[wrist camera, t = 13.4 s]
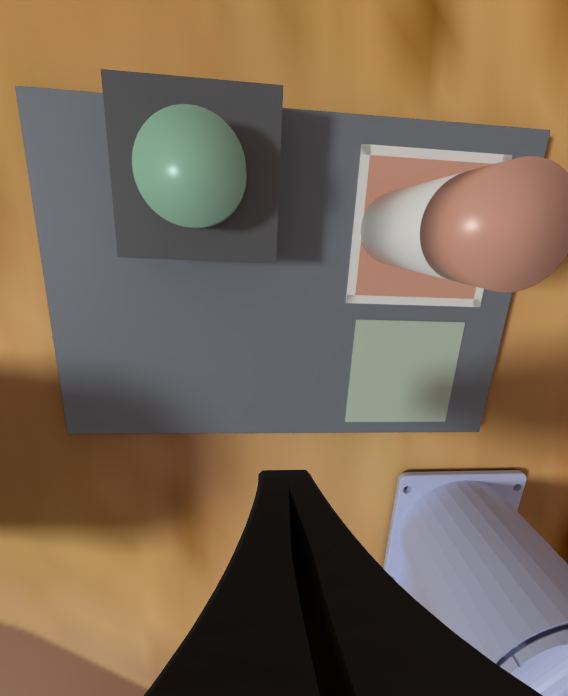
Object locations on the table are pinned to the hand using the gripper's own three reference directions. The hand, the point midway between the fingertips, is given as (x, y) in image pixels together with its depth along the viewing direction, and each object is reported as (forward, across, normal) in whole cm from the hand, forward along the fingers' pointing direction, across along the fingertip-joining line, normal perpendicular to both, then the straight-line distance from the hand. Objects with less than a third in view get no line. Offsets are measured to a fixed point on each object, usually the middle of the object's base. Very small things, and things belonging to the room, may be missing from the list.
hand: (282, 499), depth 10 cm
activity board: (+9, -1, -4) cm, 10 cm away
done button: (+6, +3, -9) cm, 11 cm away
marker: (+8, -6, -8) cm, 13 cm away
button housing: (+9, +3, -9) cm, 13 cm away
